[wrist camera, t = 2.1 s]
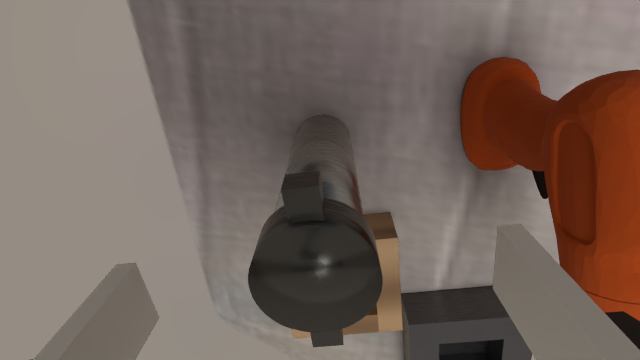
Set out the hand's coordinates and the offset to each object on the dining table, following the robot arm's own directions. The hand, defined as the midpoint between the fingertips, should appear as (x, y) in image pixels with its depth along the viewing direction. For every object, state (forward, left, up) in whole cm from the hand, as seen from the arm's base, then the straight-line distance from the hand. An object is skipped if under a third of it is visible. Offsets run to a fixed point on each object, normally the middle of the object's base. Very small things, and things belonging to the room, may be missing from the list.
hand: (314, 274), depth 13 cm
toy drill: (+4, +13, -14) cm, 19 cm away
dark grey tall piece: (0, 0, -14) cm, 14 cm away
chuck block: (+20, +10, -14) cm, 26 cm away
